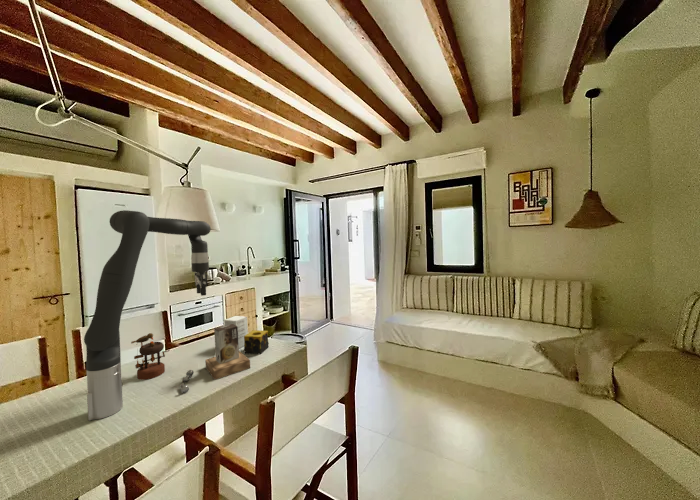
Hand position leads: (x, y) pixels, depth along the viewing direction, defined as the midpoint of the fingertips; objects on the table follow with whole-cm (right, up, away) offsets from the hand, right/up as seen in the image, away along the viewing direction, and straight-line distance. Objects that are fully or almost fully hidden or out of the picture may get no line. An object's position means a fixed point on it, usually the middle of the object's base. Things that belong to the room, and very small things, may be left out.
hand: (201, 294), depth 133 cm
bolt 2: (+4, -37, -21) cm, 43 cm away
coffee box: (+14, -32, -2) cm, 35 cm away
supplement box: (+7, -35, +26) cm, 45 cm away
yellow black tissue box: (+21, -35, +19) cm, 45 cm away
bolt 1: (+1, -37, -12) cm, 39 cm away
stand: (+14, -36, -2) cm, 39 cm away
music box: (-20, -37, -6) cm, 42 cm away
